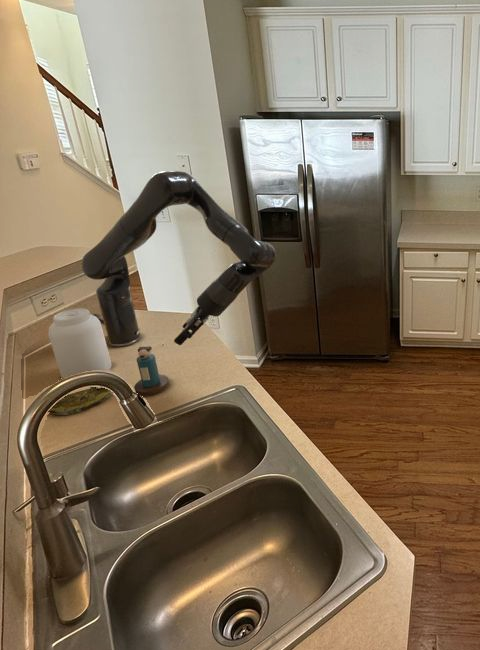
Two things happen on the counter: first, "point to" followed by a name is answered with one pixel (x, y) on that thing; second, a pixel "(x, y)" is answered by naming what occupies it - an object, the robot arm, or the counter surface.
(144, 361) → the teal pump bottle
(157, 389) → the stand
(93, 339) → the white plastic jar
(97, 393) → the mottled olive oval disc
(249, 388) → the counter surface
